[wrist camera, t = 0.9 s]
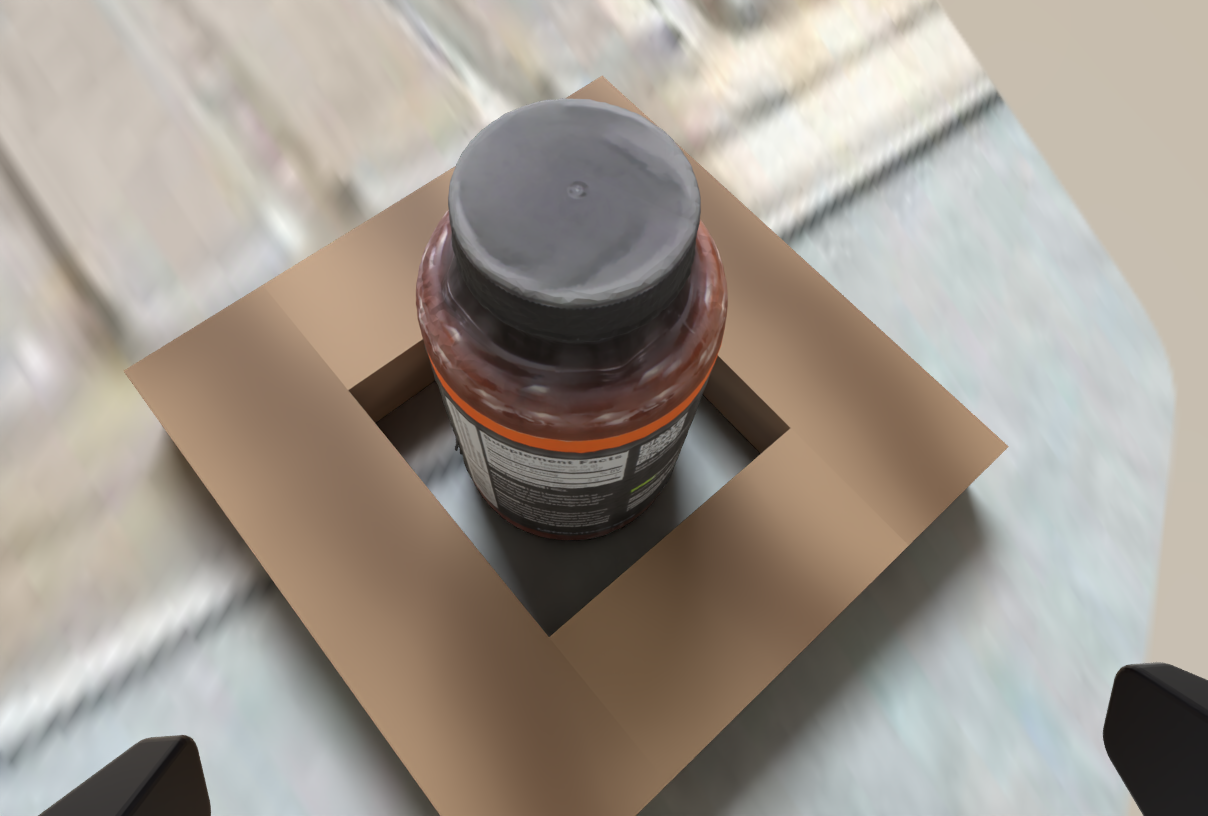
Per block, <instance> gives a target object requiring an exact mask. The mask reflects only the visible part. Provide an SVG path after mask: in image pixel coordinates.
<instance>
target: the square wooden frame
mask: <svg viewBox="0 0 1208 816" xmlns="http://www.w3.org/2000/svg"><path fill="white" fill-rule="evenodd" d="M565 99H590V100H594V101H597V102H605V103H608V104H610V105H615V106H619V107H621V108H624V109H627V110H629V111H631V112H635V113H637V114H639V115H641V116H643V117H644V118H646V119H647V120H649V121H650V122H652V123H653V124H655V123H654V122H653V121H651V120H650V119H649V118H648V117H647V116H646V115H645V114H644V113H643V112H642V111H640V110H639V109H638V108H637V107H636V106H635V105H634V104H633V103H632V102H631V101H630V100H628V99H627V98H626V97H625V96H624V95H623V94H622V93H621V92H620V91H619V90H617V89H616V88H615V87H614V86H613V85H612V84H611V83H610V82H609V81H608V80H607V79H605V78H604V77H603V76H601V77H599V78H598V79H596V80H595V81H593V82H591V83H590V84H588V85H586V86H585V87H583V88H582V89H580V90H578V91H577V92H575V93H573V94H572V95H570V96H569V97H567V98H565ZM655 125H656V124H655ZM656 126H657V125H656ZM675 143H676V142H675ZM676 144H677V143H676ZM677 145H678V144H677ZM678 146H679V145H678ZM679 148H680V149H681V150H682V151H683V153H684V155H685V156H686V157H687V159H688V161H689V162H690V164H691V166H692V169H693V172H694V174H695V177H696V180H697V183H698V187H699V191H700V197H701V214H700V220H701V221H702V222H703V224H704V225H705V227H706V228H707V229H708V231H709V233H710V235H711V237H712V238H713V240H714V241H715V244H716V246H717V249H718V251H719V254H720V257H721V260H722V263H723V267H724V272H725V277H726V281H727V294H728V307H727V317H726V323H725V330H724V335H723V339H722V344H721V347H720V350H719V353H718V355H717V358H716V361H715V364H714V366H713V369H712V371H711V374H710V376H709V379H708V382H707V385H706V387H705V390H704V392H703V395H704V396H705V397H706V398H707V399H708V400H709V401H710V402H711V403H712V404H713V405H714V406H715V407H716V408H717V409H718V410H719V411H720V412H721V414H722V415H723V416H724V417H725V418H726V419H727V420H728V421H729V422H730V423H731V424H732V425H733V426H734V427H735V428H736V429H737V430H738V431H739V432H740V433H741V434H742V435H743V436H744V437H745V438H746V439H747V440H748V441H749V442H750V443H751V444H752V445H753V446H754V447H755V448H756V449H757V450H758V451H759V452H760V453H761V454H760V455H759V456H758V457H757V458H756V459H754V460H753V461H752V462H751V463H750V464H749V465H747V466H746V467H745V468H744V469H743V470H742V471H741V472H739V473H738V474H737V475H736V476H735V477H734V478H732V479H731V480H730V481H729V482H728V483H727V484H725V485H724V486H723V487H722V488H721V489H720V490H719V491H717V492H716V493H715V494H714V495H713V496H712V497H710V498H709V499H708V500H707V501H706V502H705V503H704V504H702V505H701V506H700V507H699V508H698V509H697V510H695V511H694V512H693V513H692V514H691V515H690V516H689V517H687V518H686V519H685V520H684V521H683V522H682V523H680V524H679V525H678V526H677V527H676V528H675V529H674V530H672V531H671V532H670V533H669V534H668V535H667V536H665V537H664V538H663V539H662V540H661V541H660V542H658V543H657V544H656V545H655V546H654V547H653V548H652V549H650V550H649V551H648V552H647V553H646V554H645V555H643V556H642V557H641V558H640V559H639V560H638V561H637V562H635V563H634V564H633V565H632V566H631V567H630V568H628V569H627V570H626V571H625V572H624V573H623V574H622V575H620V576H619V577H618V578H617V579H616V580H615V581H613V582H612V583H611V584H610V585H609V586H608V587H606V588H605V589H604V590H603V591H602V592H601V593H600V594H598V595H597V596H596V597H595V598H594V599H593V600H591V601H590V602H589V603H588V604H587V605H586V606H585V607H583V608H582V609H581V610H580V611H579V612H578V613H576V614H575V615H574V616H573V617H572V618H571V619H570V620H568V621H567V622H566V623H565V624H564V625H563V626H561V627H560V628H559V629H558V630H557V631H556V632H555V633H553V634H552V635H551V636H550V637H548V635H547V634H546V633H545V632H544V631H543V629H542V628H541V627H540V626H539V624H538V623H537V622H536V621H535V619H534V618H533V617H532V616H531V615H530V613H529V612H528V611H527V610H526V608H525V607H524V606H523V605H522V603H521V602H520V601H519V600H518V599H517V597H516V596H515V595H514V594H513V592H512V591H511V590H510V589H509V587H508V586H507V585H506V584H505V583H504V581H503V580H502V579H501V578H500V576H499V575H498V574H497V573H496V571H495V570H494V569H493V568H492V567H491V565H490V564H489V563H488V562H487V560H486V559H485V558H484V557H483V555H482V554H481V553H480V552H479V551H478V549H477V548H476V547H475V546H474V544H473V543H472V542H471V541H470V539H469V538H468V537H467V536H466V535H465V533H464V532H463V531H462V530H461V528H460V527H459V526H458V525H457V523H456V522H455V521H454V520H453V519H452V517H451V516H450V515H449V514H448V512H447V511H446V510H445V509H444V507H443V506H442V505H441V504H440V503H439V501H438V500H437V499H436V498H435V496H434V495H433V494H432V493H431V491H430V490H429V489H428V488H427V487H426V485H425V484H424V483H423V482H422V480H421V479H420V478H419V477H418V475H417V474H416V473H415V472H414V471H413V469H412V468H411V467H410V466H409V464H408V463H407V462H406V461H405V459H404V458H403V457H402V456H401V455H400V453H399V452H398V451H397V450H396V448H395V447H394V446H393V445H392V443H391V442H390V441H389V440H388V439H387V437H386V436H385V435H384V434H383V432H382V431H381V430H380V429H379V427H378V426H377V425H376V424H375V423H376V422H377V421H379V420H380V419H381V418H383V417H384V416H386V415H387V414H388V413H390V412H391V411H393V410H394V409H396V408H397V407H398V406H400V405H401V404H403V403H404V402H405V401H407V400H408V399H410V398H411V397H413V396H414V395H415V394H417V393H418V392H420V391H421V390H422V389H424V388H425V387H427V386H428V385H430V384H431V383H432V382H434V381H435V376H434V373H433V370H432V367H431V363H430V359H429V356H428V354H427V352H426V350H425V346H424V340H423V337H422V334H421V329H420V326H419V322H418V317H417V307H416V282H417V278H418V270H419V265H420V264H421V261H422V255H423V253H424V250H425V247H426V245H427V244H428V242H429V240H430V238H431V236H432V233H433V232H434V230H435V228H436V227H437V225H438V223H439V221H440V220H441V219H442V218H443V216H444V214H445V213H446V212H447V211H448V210H449V209H448V194H449V186H450V180H451V177H452V175H453V172H454V170H455V167H456V166H455V167H453V168H452V169H450V170H449V171H447V172H445V173H444V174H442V175H440V176H439V177H437V178H436V179H434V180H432V181H431V182H429V183H427V184H426V185H424V186H423V187H421V188H419V189H418V190H416V191H414V192H413V193H411V194H410V195H408V196H406V197H405V198H403V199H402V200H400V201H398V202H397V203H395V204H393V205H392V206H390V207H389V208H387V209H385V210H384V211H382V212H380V213H379V214H377V215H376V216H374V217H372V218H371V219H369V220H367V221H366V222H364V223H363V224H361V225H359V226H358V227H356V228H354V229H353V230H351V231H350V232H348V233H346V234H345V235H343V236H341V237H340V238H338V239H337V240H335V241H333V242H332V243H330V244H329V245H327V246H325V247H324V248H322V249H320V250H319V251H317V252H316V253H314V254H312V255H311V256H309V257H307V258H306V259H304V260H303V261H301V262H299V263H298V264H296V265H294V266H293V267H291V268H290V269H288V270H286V271H285V272H283V273H281V274H280V275H278V276H277V277H275V278H273V279H272V280H270V281H268V282H267V283H265V284H264V285H262V286H260V287H259V288H257V289H256V290H254V291H252V292H251V293H249V294H247V295H246V296H244V297H243V298H241V299H239V300H238V301H236V302H234V303H233V304H231V305H230V306H228V307H226V308H225V309H223V310H221V311H220V312H218V313H217V314H215V315H213V316H212V317H210V318H208V319H207V320H205V321H204V322H202V323H200V324H199V325H197V326H195V327H194V328H192V329H191V330H189V331H187V332H186V333H184V334H183V335H181V336H179V337H178V338H176V339H174V340H173V341H171V342H170V343H168V344H166V345H165V346H163V347H161V348H160V349H158V350H157V351H155V352H153V353H152V354H150V355H148V356H147V357H145V358H144V359H142V360H140V361H139V362H137V363H135V364H134V365H132V366H131V367H129V368H127V369H126V370H124V373H125V374H126V375H127V377H128V378H129V380H130V381H131V382H132V384H133V385H134V387H135V388H136V389H137V391H138V392H139V394H140V395H141V396H142V398H143V399H144V401H145V402H146V403H147V405H148V406H149V408H150V409H151V410H152V412H153V413H154V415H155V416H156V417H157V419H158V420H159V422H160V423H161V424H162V426H163V427H164V429H165V430H166V431H167V433H168V434H169V436H170V437H171V438H172V440H173V441H174V443H175V444H176V445H177V447H178V448H179V450H180V451H181V453H182V454H183V455H184V457H185V458H186V460H187V461H188V462H189V464H190V465H191V467H192V468H193V469H194V471H195V472H196V474H197V475H198V476H199V478H200V479H201V481H202V482H203V483H204V485H205V486H206V488H207V489H208V490H209V492H210V493H211V495H212V496H213V497H214V499H215V500H216V502H217V503H218V504H219V506H220V507H221V509H222V510H223V511H224V513H225V514H226V516H227V517H228V518H229V520H230V521H231V523H232V524H233V525H234V527H235V528H236V530H237V531H238V532H239V534H240V535H241V537H242V538H243V539H244V541H245V542H246V544H247V545H248V547H249V548H250V549H251V551H252V552H253V554H254V555H255V556H256V558H257V559H258V561H259V562H260V563H261V565H262V566H263V568H264V569H265V570H266V572H267V573H268V575H269V576H270V577H271V579H272V580H273V582H274V583H275V584H276V586H277V587H278V589H279V590H280V591H281V593H282V594H283V596H284V597H285V598H286V600H287V601H288V603H289V604H290V605H291V607H292V608H293V610H294V611H295V612H296V614H297V615H298V617H299V618H300V619H301V621H302V622H303V624H304V625H305V626H306V628H307V629H308V631H309V632H310V633H311V635H312V636H313V638H314V639H315V640H316V642H317V643H318V645H319V646H320V648H321V649H322V650H323V652H324V653H325V655H326V656H327V657H328V659H329V660H330V662H331V663H332V664H333V666H334V667H335V669H336V670H337V671H338V673H339V674H340V676H341V677H342V678H343V680H344V681H345V683H346V684H347V685H348V687H349V688H350V690H351V691H352V692H353V694H354V695H355V697H356V698H357V699H358V701H359V702H360V704H361V705H362V706H363V708H364V709H365V711H366V712H367V713H368V715H369V716H370V718H371V719H372V720H373V722H374V723H375V725H376V726H377V727H378V729H379V730H380V732H381V733H382V734H383V736H384V737H385V739H386V740H387V741H388V743H389V744H390V746H391V747H392V749H393V750H394V751H395V753H396V754H397V756H398V757H399V758H400V760H401V761H402V763H403V764H404V765H405V767H406V768H407V770H408V771H409V772H410V774H411V775H412V777H413V778H414V779H415V781H416V782H417V784H418V785H419V786H420V788H421V789H422V791H423V792H424V793H425V795H426V796H427V798H428V799H429V800H430V802H431V803H432V805H433V806H434V807H435V809H436V810H437V812H438V813H439V814H440V816H636V815H637V814H638V813H639V812H640V811H641V810H642V809H643V808H644V807H645V806H646V805H647V804H648V803H649V802H650V801H651V800H652V799H653V798H654V797H655V796H656V795H657V794H658V793H659V792H660V791H661V790H662V789H663V788H664V787H665V786H666V785H667V784H668V783H669V782H670V781H671V780H672V779H673V778H674V777H675V776H676V775H677V774H678V773H679V772H680V771H681V770H682V769H683V768H685V767H686V766H687V765H688V764H689V763H690V762H691V761H692V760H693V759H694V758H695V757H696V756H697V755H698V754H699V753H700V752H701V751H702V750H703V749H704V748H705V747H706V746H707V745H708V744H709V743H710V742H711V741H712V740H713V739H714V738H715V737H716V736H717V735H718V734H719V733H720V732H721V731H722V730H723V729H724V728H725V727H726V726H727V725H728V724H729V723H730V722H731V721H732V720H733V719H734V718H735V717H736V716H737V715H738V714H739V713H740V712H741V711H742V710H743V709H744V708H745V707H746V706H747V705H748V704H749V703H750V702H751V701H752V700H753V699H754V698H755V697H756V696H757V695H758V694H759V693H760V692H761V691H762V690H763V689H764V688H765V687H766V686H767V685H768V684H769V683H770V682H771V681H772V680H773V679H774V678H775V677H776V676H777V675H778V674H779V673H780V672H781V671H782V670H783V669H784V668H786V667H787V666H788V665H789V664H790V663H791V662H792V661H793V660H794V659H795V658H796V657H797V656H798V655H799V654H800V653H801V652H802V651H803V650H804V649H805V648H806V647H807V646H808V645H809V644H810V643H811V642H812V641H813V640H814V639H815V638H816V637H817V636H818V635H819V634H820V633H821V632H822V631H823V630H824V629H825V628H826V627H827V626H828V625H829V624H830V623H831V622H832V621H833V620H834V619H835V618H836V617H837V616H838V615H839V614H840V613H841V612H842V611H843V610H844V609H845V608H846V607H847V606H848V605H849V604H850V603H851V602H852V601H853V600H854V599H855V598H856V597H857V596H858V595H859V594H860V593H861V592H862V591H863V590H864V589H865V588H866V587H867V586H868V585H869V584H870V583H871V582H872V581H873V580H874V579H875V578H876V577H877V576H878V575H879V574H880V573H881V572H882V571H883V570H884V569H885V568H887V567H888V566H889V565H890V564H891V563H892V562H893V561H894V560H895V559H896V558H897V557H898V556H899V555H900V554H901V553H902V552H903V551H904V550H905V549H906V548H907V547H908V546H909V545H910V544H911V543H912V542H913V541H914V540H915V539H916V538H917V537H918V536H919V535H920V534H921V533H922V532H923V531H924V530H925V529H926V528H927V527H928V526H929V525H930V524H931V523H932V522H933V521H934V520H935V519H936V518H937V517H938V516H939V515H940V514H941V513H942V512H943V511H944V510H945V509H946V508H947V507H948V506H949V505H950V504H951V503H952V502H953V501H954V500H955V499H956V498H957V497H958V496H959V495H960V494H961V493H962V492H963V491H964V490H965V489H966V488H967V487H968V486H969V485H970V484H971V483H972V482H973V481H974V480H975V479H976V478H977V477H978V476H979V475H980V474H981V473H982V472H983V471H984V470H985V469H987V468H988V467H989V466H990V465H991V464H992V463H993V462H994V461H995V460H996V459H997V458H998V457H999V456H1000V455H1001V454H1002V453H1003V452H1004V451H1005V450H1006V449H1007V448H1008V447H1009V446H1007V445H1006V444H1005V443H1004V442H1003V441H1002V440H1001V439H1000V438H999V437H998V436H996V435H995V434H994V433H993V432H992V431H991V430H990V429H989V428H988V427H987V426H986V425H984V424H983V423H982V422H981V421H980V420H979V419H978V418H977V417H976V416H975V415H973V414H972V413H971V412H970V411H969V410H968V409H967V408H966V407H965V406H964V405H963V404H961V403H960V402H959V401H958V400H957V399H956V398H955V397H954V396H953V395H952V394H950V393H949V392H948V391H947V390H946V389H945V388H944V387H943V386H942V385H941V384H940V383H938V382H937V381H936V380H935V379H934V378H933V377H932V376H931V375H930V374H929V373H927V372H926V371H925V370H924V369H923V368H922V367H921V366H920V365H919V364H918V363H917V362H915V361H914V360H913V359H912V358H911V357H910V356H909V355H908V354H907V353H906V352H904V351H903V350H902V349H901V348H900V347H899V346H898V345H897V344H896V343H895V342H894V341H892V340H891V339H890V338H889V337H888V336H887V335H886V334H885V333H884V332H883V331H881V330H880V329H879V328H878V327H877V326H876V325H875V324H874V323H873V322H872V321H871V320H869V319H868V318H867V317H866V316H865V315H864V314H863V313H862V312H861V311H860V310H858V309H857V308H856V307H855V306H854V305H853V304H852V303H851V302H850V301H849V300H848V299H846V298H845V297H844V296H843V295H842V294H841V293H840V292H839V291H838V290H837V289H835V288H834V287H833V286H832V285H831V284H830V283H829V282H828V281H827V280H826V279H825V278H823V277H822V276H821V275H820V274H819V273H818V272H817V271H816V270H815V269H814V268H812V267H811V266H810V265H809V264H808V263H807V262H806V261H805V260H804V259H803V258H802V257H800V256H799V255H798V254H797V253H796V252H795V251H794V250H793V249H792V248H791V247H789V246H788V245H787V244H786V243H785V242H784V241H783V240H782V239H781V238H780V237H779V236H777V235H776V234H775V233H774V232H773V231H772V230H771V229H770V228H769V227H768V226H766V225H765V224H764V223H763V222H762V221H761V220H760V219H759V218H758V217H757V216H756V215H754V214H753V213H752V212H751V211H750V210H749V209H748V208H747V207H746V206H745V205H743V204H742V203H741V202H740V201H739V200H738V199H737V198H736V197H735V196H734V195H732V194H731V193H730V192H729V191H728V190H727V189H726V188H725V187H724V186H723V185H722V184H720V183H719V182H718V181H717V180H716V179H715V178H714V177H713V176H712V175H711V174H709V173H708V172H707V171H706V170H705V169H704V168H703V167H702V166H701V165H700V164H699V163H697V162H696V161H695V160H694V159H693V158H692V157H691V156H690V155H689V154H688V153H686V152H685V151H684V150H683V149H682V148H681V147H680V146H679Z"/></svg>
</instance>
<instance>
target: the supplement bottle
mask: <svg viewBox="0 0 1208 816" xmlns="http://www.w3.org/2000/svg"><path fill="white" fill-rule="evenodd" d="M448 209H449V210H448V211H447V212H446V213H445V214H444V216H443V218H442V219H441V220H440V221H439V223H438V225H437V227H436V228H435V230H434V232H433V233H432V236H431V238H430V240H429V242H428V244H427V245H426V247H425V250H424V253H423V255H422V261H421V264H420V265H419V270H418V278H417V282H416V307H417V317H418V322H419V326H420V329H421V334H422V337H423V340H424V346H425V350H426V352H427V354H428V356H429V359H430V363H431V367H432V370H433V373H434V376H435V381H436V382H437V384H438V386H439V389H440V394H441V396H442V398H443V404H444V406H445V408H446V412H447V415H448V417H449V419H450V422H451V426H452V428H453V431H454V433H455V435H456V446H455V450H456V451H457V449H458V447H459V448H460V454H462V455H463V459H464V464H465V466H466V469H467V471H468V472H469V474H470V476H471V478H472V479H473V481H474V484H475V485H476V487H477V488H478V490H479V491H480V493H481V495H482V497H483V498H484V499H485V500H486V501H487V503H488V504H489V505H490V506H491V508H493V509H494V510H495V511H496V512H497V513H498V514H499V515H500V516H501V517H502V518H504V519H505V520H507V521H508V522H509V523H511V524H513V525H514V526H516V527H518V528H520V529H522V530H524V531H526V532H529V533H532V534H535V535H537V536H540V537H545V538H550V539H556V540H583V539H591V538H595V537H600V536H604V535H606V534H609V533H611V532H613V531H615V530H617V529H619V528H622V527H623V526H625V525H627V524H628V523H630V522H632V521H633V520H634V519H635V518H636V517H638V516H639V515H641V514H642V513H643V512H644V511H645V510H646V509H647V508H648V507H649V506H650V505H651V504H652V502H653V501H654V500H655V498H656V497H657V496H658V495H659V494H660V492H661V490H662V489H663V487H664V486H665V484H666V483H667V481H668V479H669V477H670V475H671V473H672V471H673V468H674V465H675V463H676V460H677V458H678V456H679V453H680V451H681V448H682V446H683V443H684V441H685V438H686V436H687V433H688V430H689V428H690V425H691V423H692V421H693V418H694V415H695V413H696V410H697V407H698V405H699V402H700V399H701V397H702V394H703V392H704V390H705V387H706V385H707V382H708V379H709V376H710V374H711V371H712V369H713V366H714V364H715V361H716V358H717V355H718V353H719V350H720V347H721V344H722V339H723V335H724V330H725V323H726V317H727V307H728V294H727V281H726V277H725V272H724V267H723V263H722V260H721V257H720V254H719V251H718V249H717V246H716V244H715V241H714V240H713V238H712V237H711V235H710V233H709V231H708V229H707V228H706V227H705V225H704V224H703V222H702V221H701V220H700V214H701V197H700V191H699V187H698V183H697V180H696V177H695V174H694V172H693V169H692V166H691V164H690V162H689V161H688V159H687V157H686V156H685V155H684V153H683V151H682V150H681V149H680V148H679V146H678V145H677V144H676V143H675V142H674V140H673V139H672V138H671V137H670V136H668V135H667V134H666V133H665V132H664V131H663V130H662V129H661V128H659V127H658V126H656V125H655V124H653V123H652V122H650V121H649V120H647V119H646V118H644V117H643V116H641V115H639V114H637V113H635V112H631V111H629V110H627V109H624V108H621V107H619V106H615V105H610V104H608V103H605V102H597V101H594V100H590V99H563V98H562V99H558V100H544V101H539V102H536V103H532V104H529V105H526V106H523V107H520V108H518V109H515V110H513V111H511V112H508V113H506V114H504V115H503V116H501V117H500V118H498V119H497V120H495V121H493V122H492V123H491V124H489V125H488V126H487V127H485V128H484V129H483V130H481V131H480V132H479V133H478V134H477V135H476V137H475V138H474V139H472V140H471V141H470V143H469V144H468V146H467V147H466V149H465V150H464V151H463V152H462V154H461V156H460V158H459V160H458V162H457V164H456V167H455V170H454V172H453V175H452V177H451V180H450V186H449V194H448Z"/></svg>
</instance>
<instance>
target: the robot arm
mask: <svg viewBox="0 0 1208 816" xmlns="http://www.w3.org/2000/svg"><path fill="white" fill-rule="evenodd" d="M1103 740H1104V745H1105V748H1106V751H1107V754H1108V756H1109V758H1110V760H1111V762H1112V763H1113V765H1114V767H1115V768H1116V770H1117V772H1118V774H1119V775H1120V777H1121V779H1122V780H1123V782H1124V784H1125V785H1126V787H1127V789H1128V790H1129V792H1130V794H1131V795H1132V797H1133V799H1134V801H1135V802H1136V804H1137V806H1138V807H1139V809H1140V811H1141V812H1142V814H1143V816H1208V680H1206V679H1203V678H1201V677H1199V676H1196V675H1194V674H1192V673H1189V672H1187V671H1184V670H1182V669H1180V668H1177V667H1175V666H1173V665H1170V664H1166V663H1143V664H1130V665H1126V666H1124V667H1122V668H1121V669H1120V670H1119V671H1118V672H1117V674H1116V676H1115V679H1114V683H1113V688H1112V692H1111V697H1110V701H1109V705H1108V710H1107V714H1106V718H1105V723H1104V727H1103ZM38 816H211V806H210V800H209V795H208V791H207V787H206V782H205V778H204V774H203V769H202V765H201V761H200V756H199V752H198V748H197V746H196V743H195V742H194V740H193V739H192V738H191V737H189V736H186V735H178V736H164V737H151V738H147V739H143V740H141V741H140V742H138V743H136V744H135V745H133V746H132V747H131V748H129V749H128V750H127V751H125V752H124V753H123V754H121V755H120V756H119V757H117V758H116V759H114V760H113V761H112V762H110V763H109V764H108V765H106V766H105V767H104V768H102V769H101V770H100V771H98V772H97V773H95V774H94V775H93V776H91V777H90V778H89V779H87V780H86V781H85V782H83V783H82V784H81V785H79V786H78V787H76V788H75V789H74V790H72V791H71V792H70V793H68V794H67V795H66V796H64V797H63V798H61V799H60V800H59V801H57V802H56V803H55V804H53V805H52V806H51V807H49V808H48V809H47V810H45V811H44V812H42V813H41V814H40V815H38Z"/></svg>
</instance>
